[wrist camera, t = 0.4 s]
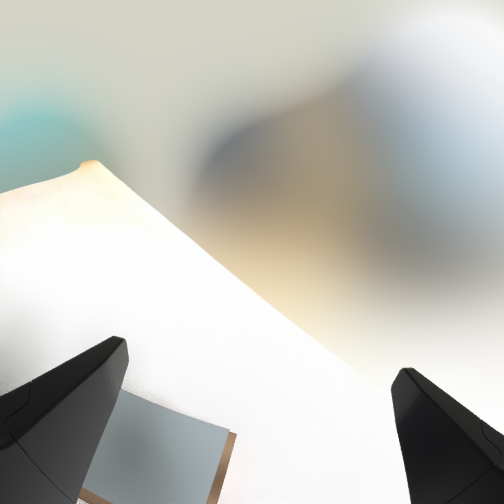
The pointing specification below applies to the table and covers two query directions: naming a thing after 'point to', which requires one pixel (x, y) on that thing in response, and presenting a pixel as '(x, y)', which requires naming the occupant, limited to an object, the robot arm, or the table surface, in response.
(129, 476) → the grey top slab
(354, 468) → the table surface
